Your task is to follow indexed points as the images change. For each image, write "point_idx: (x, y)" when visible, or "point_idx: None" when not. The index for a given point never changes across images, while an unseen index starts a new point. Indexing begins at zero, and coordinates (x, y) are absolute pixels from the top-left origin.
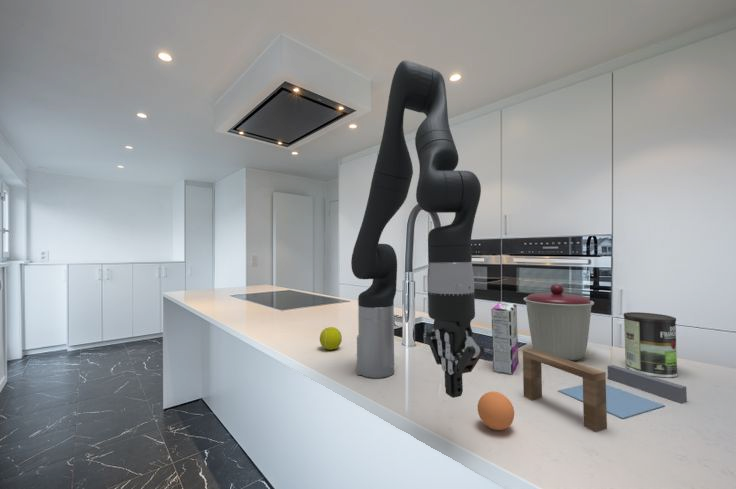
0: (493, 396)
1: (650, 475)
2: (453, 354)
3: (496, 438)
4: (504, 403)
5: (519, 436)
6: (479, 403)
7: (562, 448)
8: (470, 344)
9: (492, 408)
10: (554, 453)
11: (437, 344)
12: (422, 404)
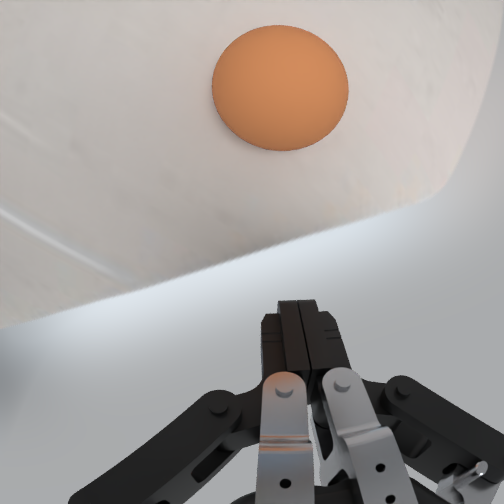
0: (305, 106)
1: (490, 17)
2: (344, 476)
3: None
4: (342, 89)
5: None
6: (256, 143)
7: (410, 34)
8: (476, 499)
9: (321, 135)
10: (416, 67)
11: (179, 496)
12: (84, 218)
